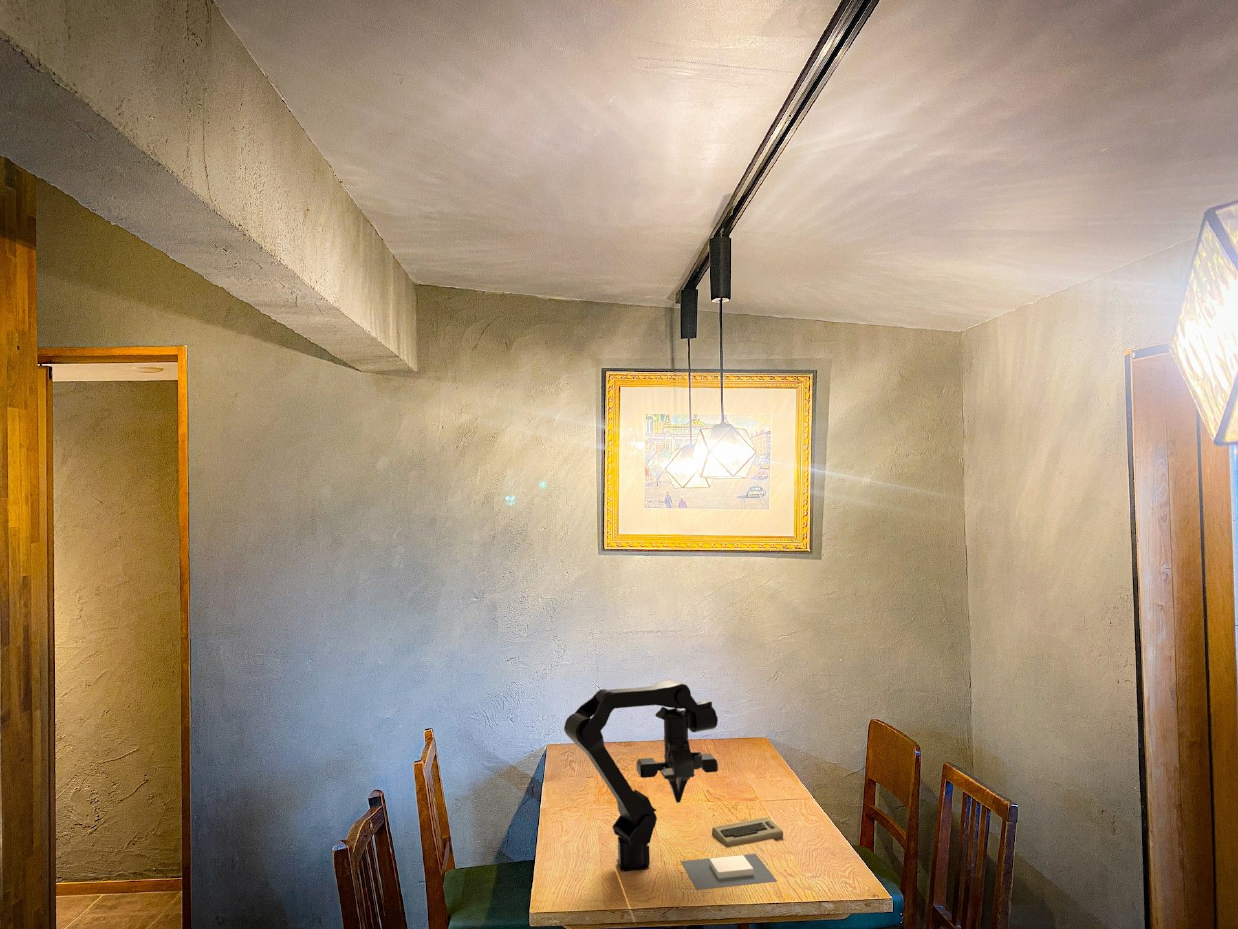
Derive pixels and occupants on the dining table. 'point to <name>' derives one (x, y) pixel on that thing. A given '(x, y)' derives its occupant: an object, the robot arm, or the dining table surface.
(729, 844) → the computer
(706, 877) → the mat
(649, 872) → the dining table surface
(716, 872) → the tile
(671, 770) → the robot arm
